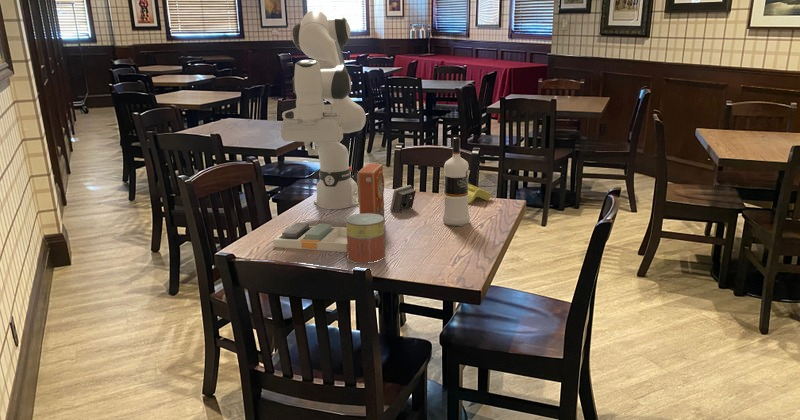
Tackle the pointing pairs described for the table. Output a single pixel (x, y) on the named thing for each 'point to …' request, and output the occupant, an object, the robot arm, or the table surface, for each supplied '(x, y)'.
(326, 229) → the panel
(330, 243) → the cream compartment tray
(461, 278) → the table surface
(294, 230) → the dark grey long block
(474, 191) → the plastic component
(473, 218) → the table surface
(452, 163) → the vodka
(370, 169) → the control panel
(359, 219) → the canned food
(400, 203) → the electrical switch
